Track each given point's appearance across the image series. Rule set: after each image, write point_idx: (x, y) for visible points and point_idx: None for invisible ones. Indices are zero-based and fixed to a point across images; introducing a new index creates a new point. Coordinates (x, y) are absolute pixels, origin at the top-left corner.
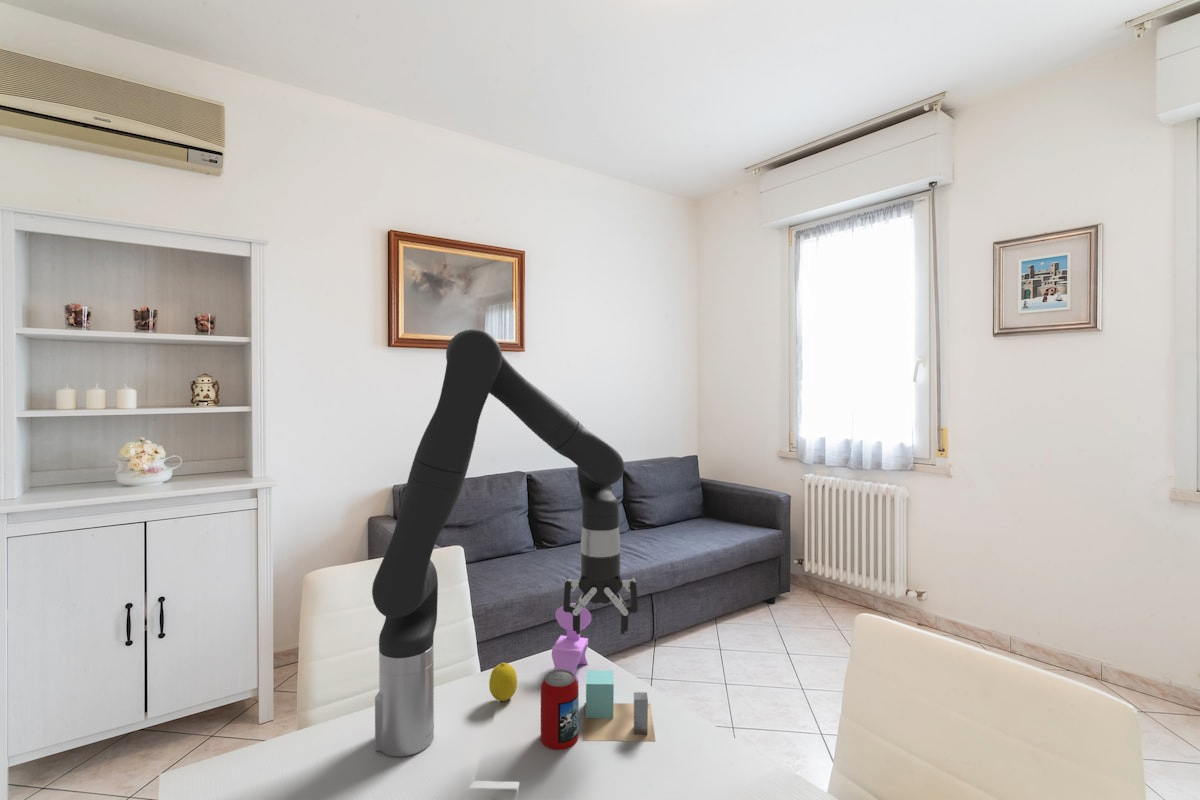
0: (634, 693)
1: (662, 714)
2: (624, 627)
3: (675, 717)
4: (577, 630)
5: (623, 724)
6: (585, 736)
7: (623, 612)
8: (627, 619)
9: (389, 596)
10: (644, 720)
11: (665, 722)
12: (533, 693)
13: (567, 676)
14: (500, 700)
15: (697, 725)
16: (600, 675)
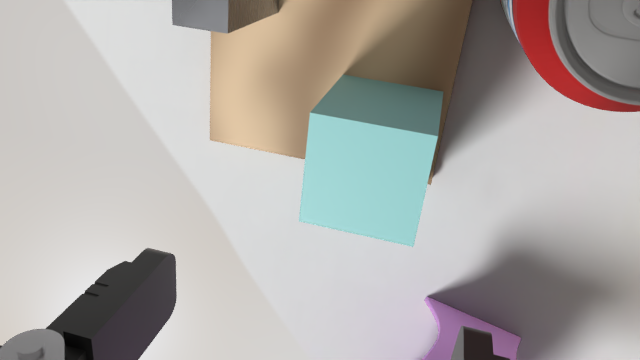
0: (225, 24)
1: (181, 93)
2: (124, 280)
3: (143, 70)
4: (483, 347)
5: (312, 32)
6: None
7: (44, 357)
8: (64, 315)
9: None
10: None
11: (176, 47)
12: (605, 292)
13: (600, 14)
14: None
15: (82, 16)
16: (359, 194)
